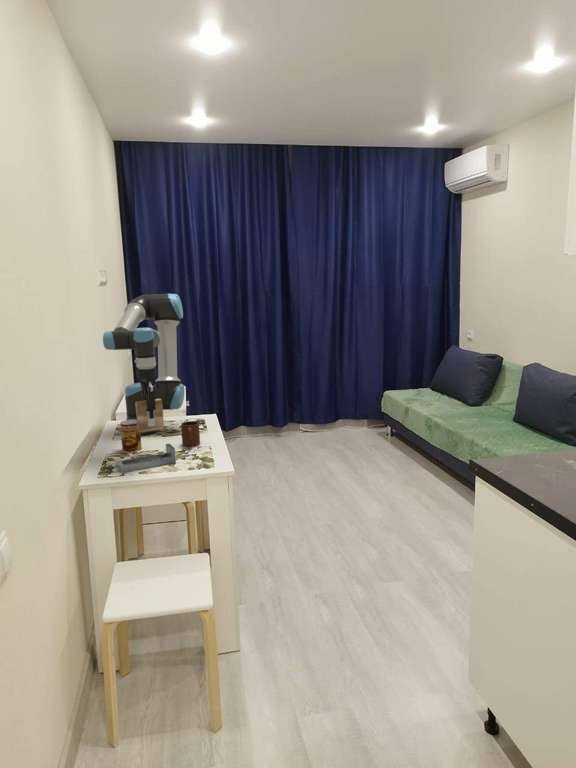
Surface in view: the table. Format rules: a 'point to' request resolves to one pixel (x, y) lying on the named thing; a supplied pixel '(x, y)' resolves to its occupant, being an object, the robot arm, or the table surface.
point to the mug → (190, 433)
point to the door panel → (143, 419)
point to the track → (148, 460)
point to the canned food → (130, 436)
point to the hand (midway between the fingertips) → (150, 424)
